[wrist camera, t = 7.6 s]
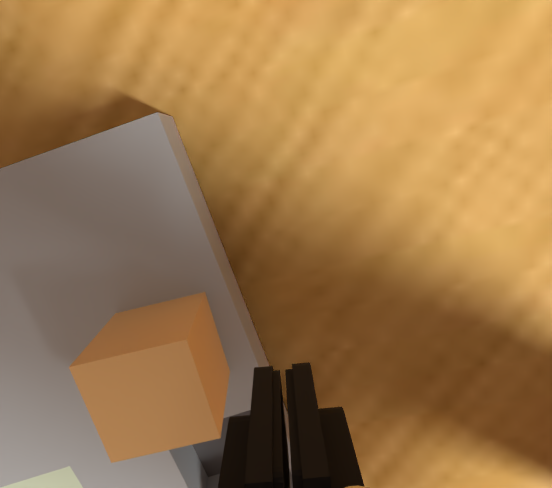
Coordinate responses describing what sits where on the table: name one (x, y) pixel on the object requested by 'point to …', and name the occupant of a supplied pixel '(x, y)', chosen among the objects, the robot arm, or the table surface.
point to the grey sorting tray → (105, 299)
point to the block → (155, 378)
